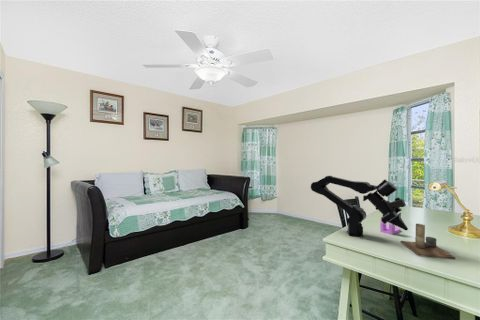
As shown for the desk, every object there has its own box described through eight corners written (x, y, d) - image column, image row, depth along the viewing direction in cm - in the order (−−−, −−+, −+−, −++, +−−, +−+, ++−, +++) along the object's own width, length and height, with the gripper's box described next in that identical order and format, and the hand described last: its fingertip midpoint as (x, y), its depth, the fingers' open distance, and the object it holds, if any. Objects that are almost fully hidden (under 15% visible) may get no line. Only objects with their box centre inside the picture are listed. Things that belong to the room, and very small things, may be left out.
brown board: (418, 255, 91) (418, 253, 91) (400, 242, 105) (400, 240, 105) (455, 259, 88) (455, 256, 88) (432, 245, 102) (432, 243, 102)
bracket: (391, 235, 116) (391, 222, 116) (380, 232, 121) (380, 219, 121) (401, 230, 123) (402, 218, 123) (390, 228, 128) (390, 216, 128)
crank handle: (429, 243, 101) (429, 222, 101) (438, 246, 98) (438, 224, 98) (413, 245, 98) (413, 223, 98) (421, 249, 95) (422, 226, 95)
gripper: (389, 194, 97) (421, 224, 90) (396, 190, 111) (424, 216, 103) (369, 209, 103) (398, 238, 95) (378, 203, 116) (404, 228, 108)
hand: (407, 229), depth 100 cm, fingers closed
